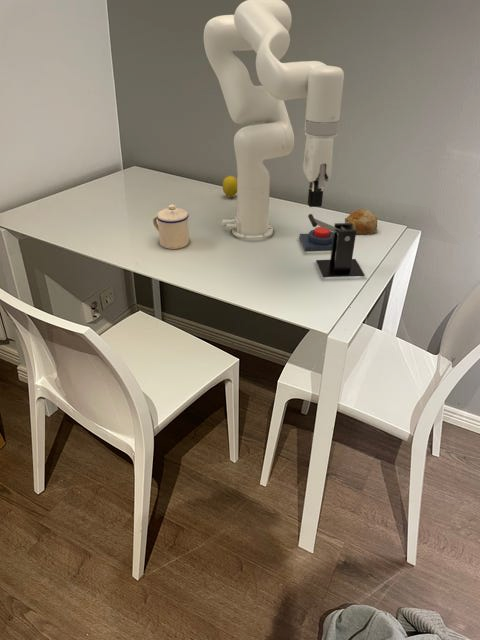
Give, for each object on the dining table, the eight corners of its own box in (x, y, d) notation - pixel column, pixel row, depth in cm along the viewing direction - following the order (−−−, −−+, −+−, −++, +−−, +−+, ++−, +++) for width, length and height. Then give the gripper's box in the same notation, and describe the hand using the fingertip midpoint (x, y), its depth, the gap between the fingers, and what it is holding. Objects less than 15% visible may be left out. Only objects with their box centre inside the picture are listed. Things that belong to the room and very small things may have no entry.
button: (315, 238, 142) (316, 233, 141) (312, 232, 145) (313, 226, 144) (330, 238, 142) (331, 232, 141) (327, 231, 145) (327, 226, 144)
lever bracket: (322, 280, 129) (328, 235, 122) (315, 263, 137) (320, 220, 129) (364, 278, 130) (371, 234, 123) (354, 262, 137) (361, 219, 130)
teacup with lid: (196, 240, 148) (194, 203, 141) (177, 252, 142) (174, 214, 135) (164, 231, 153) (161, 195, 147) (145, 242, 147) (141, 205, 140)
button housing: (304, 254, 141) (305, 241, 139) (299, 240, 149) (300, 228, 147) (342, 253, 142) (344, 240, 140) (335, 239, 150) (336, 227, 147)
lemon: (222, 194, 180) (222, 172, 175) (237, 194, 180) (237, 172, 175) (223, 200, 175) (222, 178, 170) (238, 200, 175) (238, 177, 171)
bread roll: (369, 247, 153) (384, 226, 148) (340, 231, 152) (355, 210, 147) (368, 234, 161) (383, 214, 156) (341, 219, 160) (355, 198, 155)
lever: (310, 228, 122) (314, 219, 121) (306, 219, 127) (310, 211, 126) (349, 244, 126) (354, 236, 125) (344, 234, 130) (348, 227, 129)
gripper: (299, 120, 117) (294, 195, 128) (311, 136, 105) (305, 217, 115) (330, 120, 118) (323, 194, 128) (346, 135, 106) (336, 216, 116)
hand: (314, 205), depth 122 cm, fingers closed
